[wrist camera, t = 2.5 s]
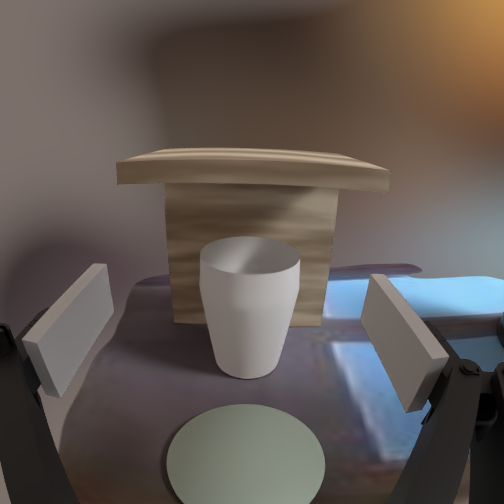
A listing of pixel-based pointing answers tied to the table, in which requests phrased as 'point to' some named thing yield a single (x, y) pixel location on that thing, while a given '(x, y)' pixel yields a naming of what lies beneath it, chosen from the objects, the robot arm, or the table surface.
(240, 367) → the cup
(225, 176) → the shelf
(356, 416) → the table surface
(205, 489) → the mat
